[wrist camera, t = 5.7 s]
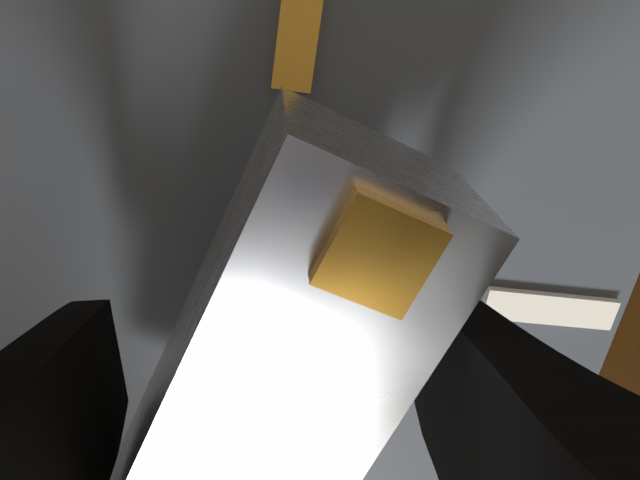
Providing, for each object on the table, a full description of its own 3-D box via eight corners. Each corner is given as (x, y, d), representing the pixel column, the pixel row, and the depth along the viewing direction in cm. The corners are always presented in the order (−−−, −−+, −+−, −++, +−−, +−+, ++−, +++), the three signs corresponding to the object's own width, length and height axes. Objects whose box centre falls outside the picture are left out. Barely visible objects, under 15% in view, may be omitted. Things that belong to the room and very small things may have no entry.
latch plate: (-76, 462, 16) (-114, 517, 14) (-168, -183, 10) (-249, -211, 8) (512, 493, 18) (536, 543, 16) (704, -26, 12) (767, -25, 11)
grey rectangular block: (255, 446, 14) (249, 670, 10) (129, 407, 13) (58, 630, 9) (426, 138, 11) (530, 249, 7) (279, 67, 11) (288, 140, 6)
